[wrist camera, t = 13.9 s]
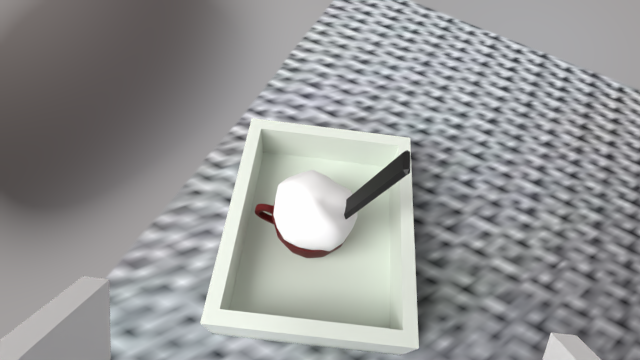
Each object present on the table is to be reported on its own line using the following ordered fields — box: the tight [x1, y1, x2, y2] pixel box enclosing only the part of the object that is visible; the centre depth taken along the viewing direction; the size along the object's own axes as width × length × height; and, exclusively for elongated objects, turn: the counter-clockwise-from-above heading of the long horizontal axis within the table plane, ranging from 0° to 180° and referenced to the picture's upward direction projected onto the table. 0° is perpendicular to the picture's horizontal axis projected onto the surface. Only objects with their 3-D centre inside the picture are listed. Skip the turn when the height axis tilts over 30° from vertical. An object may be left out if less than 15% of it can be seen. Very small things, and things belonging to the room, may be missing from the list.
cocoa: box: [255, 150, 411, 258], centre depth 25 cm, size 10×6×12 cm, turn 60°
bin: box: [200, 118, 419, 355], centre depth 29 cm, size 14×17×4 cm
